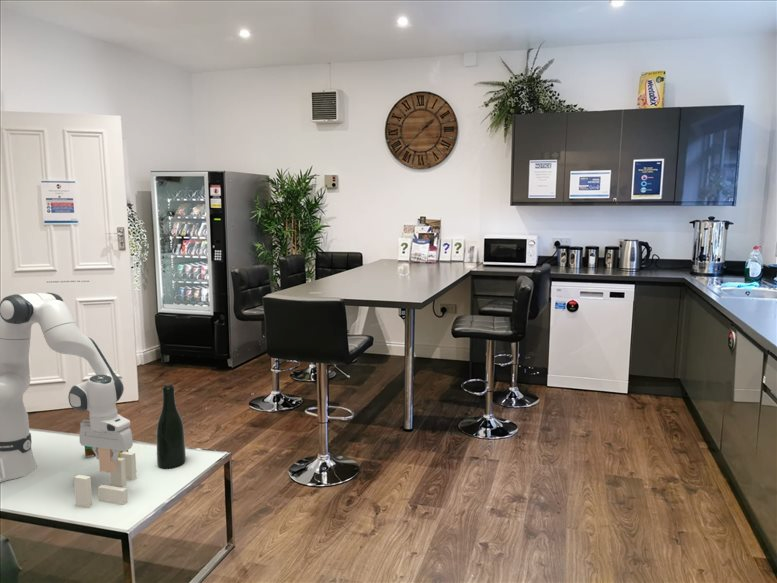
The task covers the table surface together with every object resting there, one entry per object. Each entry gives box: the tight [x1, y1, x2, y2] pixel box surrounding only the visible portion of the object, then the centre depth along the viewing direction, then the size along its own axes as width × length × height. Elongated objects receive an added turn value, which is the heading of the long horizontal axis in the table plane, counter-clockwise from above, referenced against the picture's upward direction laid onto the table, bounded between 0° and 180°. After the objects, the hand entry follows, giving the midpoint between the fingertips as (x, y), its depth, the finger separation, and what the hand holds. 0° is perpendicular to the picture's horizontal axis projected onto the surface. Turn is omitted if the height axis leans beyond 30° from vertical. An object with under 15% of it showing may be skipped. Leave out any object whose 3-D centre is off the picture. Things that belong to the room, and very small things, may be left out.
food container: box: [84, 446, 96, 459], centre depth 236 cm, size 12×6×10 cm, turn 9°
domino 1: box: [73, 474, 93, 508], centre depth 195 cm, size 2×5×10 cm, turn 72°
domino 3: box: [109, 458, 127, 488], centre depth 210 cm, size 2×5×10 cm, turn 72°
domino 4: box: [97, 484, 129, 505], centre depth 198 cm, size 2×5×10 cm
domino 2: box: [98, 448, 116, 474], centre depth 204 cm, size 2×5×10 cm, turn 73°
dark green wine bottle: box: [155, 382, 187, 470], centre depth 225 cm, size 10×10×33 cm
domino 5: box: [120, 451, 137, 481], centre depth 215 cm, size 2×5×10 cm, turn 72°
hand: (107, 459), depth 204 cm, fingers closed on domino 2, 5 cm apart
